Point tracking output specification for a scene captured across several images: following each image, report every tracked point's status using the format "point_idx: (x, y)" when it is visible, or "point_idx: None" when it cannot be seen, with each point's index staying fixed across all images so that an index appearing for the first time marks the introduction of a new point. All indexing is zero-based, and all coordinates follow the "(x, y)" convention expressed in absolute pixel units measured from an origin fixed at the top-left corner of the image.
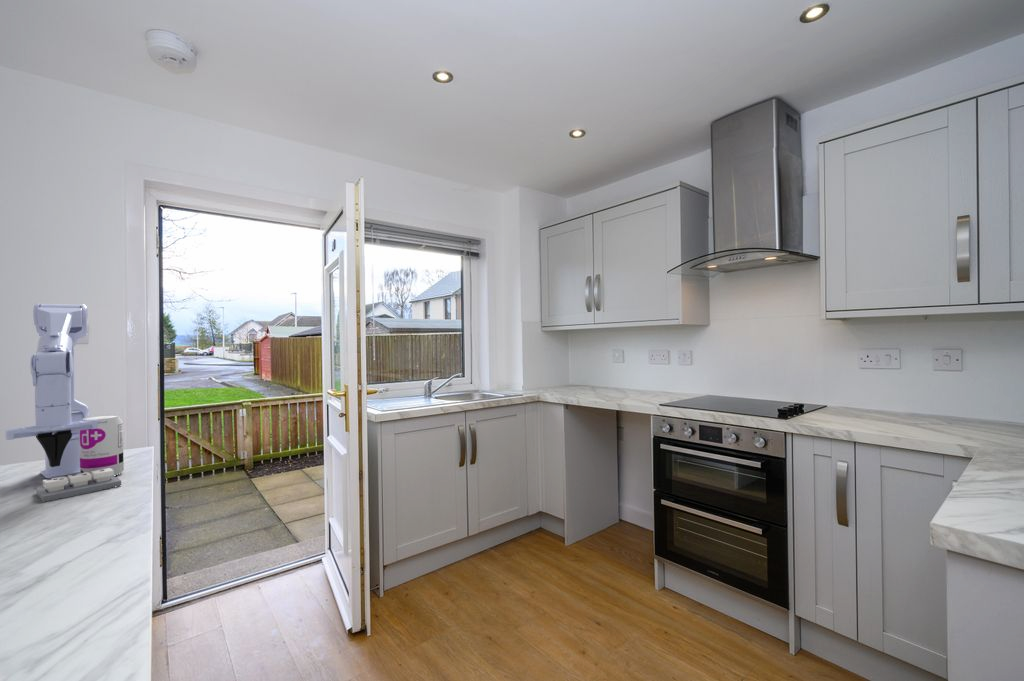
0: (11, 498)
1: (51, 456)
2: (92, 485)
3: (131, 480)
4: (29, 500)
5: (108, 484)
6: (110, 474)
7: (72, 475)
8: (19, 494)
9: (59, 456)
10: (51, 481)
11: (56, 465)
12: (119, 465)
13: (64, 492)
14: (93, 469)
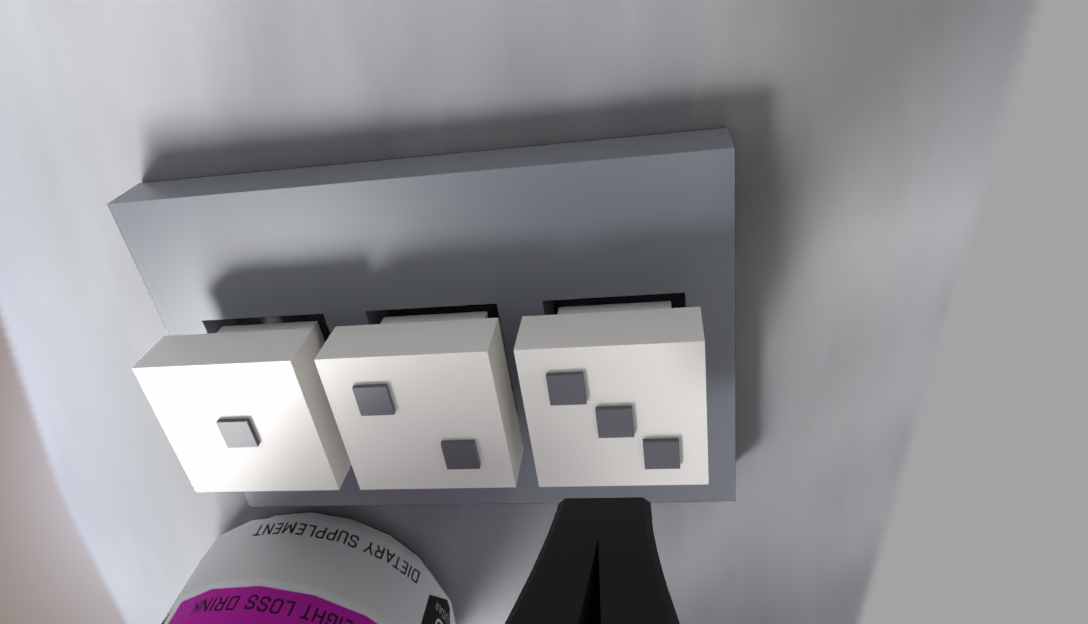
0: (882, 474)
1: (649, 621)
2: (337, 232)
3: (100, 311)
4: (803, 304)
5: (211, 188)
6: (180, 341)
7: (474, 445)
8: (817, 538)
9: (546, 599)
10: (651, 365)
11: (595, 503)
12: (182, 594)
13: (558, 161)
14: (345, 597)
